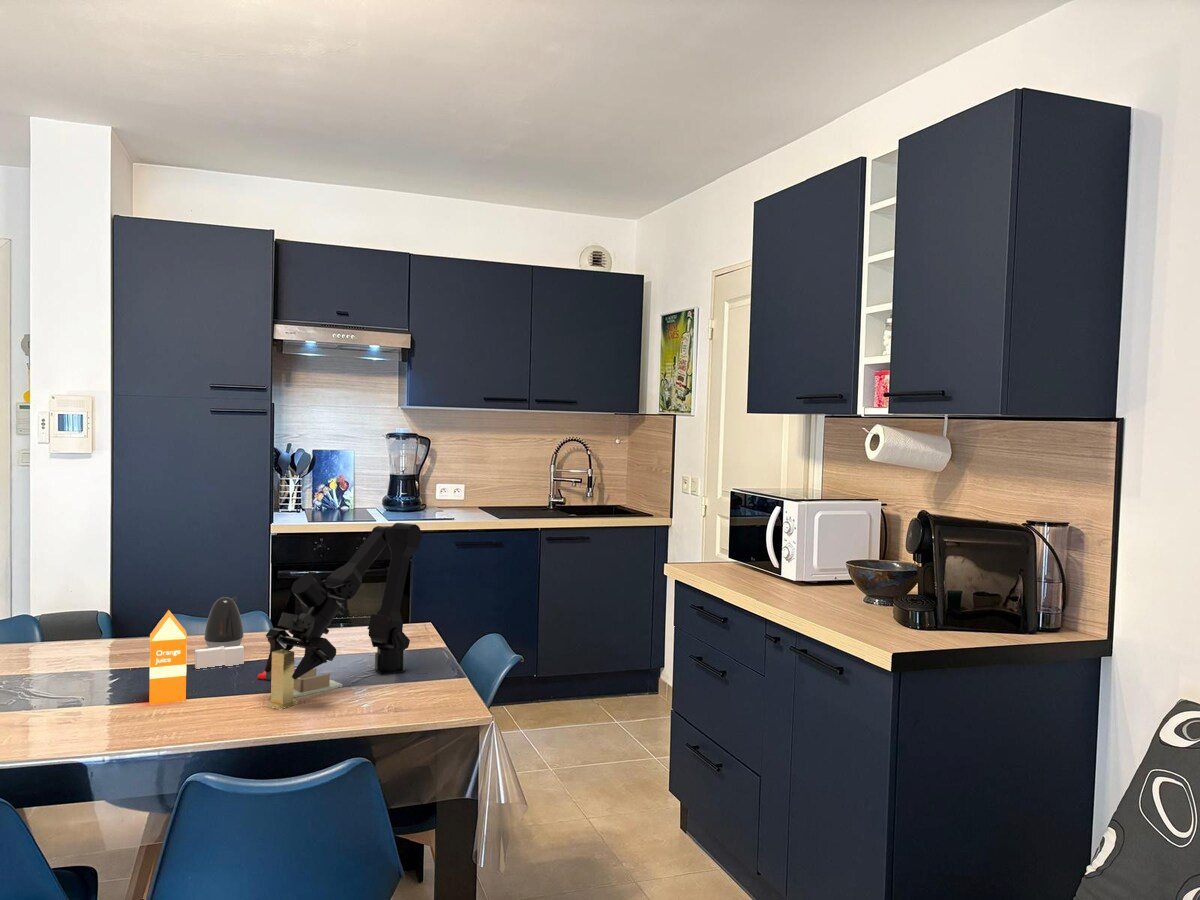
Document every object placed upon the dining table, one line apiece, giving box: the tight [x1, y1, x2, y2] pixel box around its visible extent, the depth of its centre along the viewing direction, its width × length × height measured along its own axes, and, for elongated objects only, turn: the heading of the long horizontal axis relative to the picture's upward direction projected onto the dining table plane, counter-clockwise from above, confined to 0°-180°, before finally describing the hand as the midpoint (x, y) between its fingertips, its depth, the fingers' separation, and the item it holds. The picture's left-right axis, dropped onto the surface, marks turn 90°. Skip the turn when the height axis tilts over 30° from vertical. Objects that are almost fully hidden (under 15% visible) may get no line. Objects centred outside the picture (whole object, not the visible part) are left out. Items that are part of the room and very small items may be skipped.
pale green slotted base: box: [294, 667, 343, 698], centre depth 212 cm, size 13×9×4 cm
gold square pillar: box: [267, 649, 298, 710], centre depth 198 cm, size 5×4×12 cm
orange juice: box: [148, 609, 188, 706], centre depth 202 cm, size 8×9×20 cm
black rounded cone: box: [203, 596, 244, 648], centre depth 245 cm, size 10×10×15 cm
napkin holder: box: [194, 645, 245, 670], centre depth 228 cm, size 15×11×6 cm
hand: (279, 675), depth 198 cm, fingers open, 9 cm apart
